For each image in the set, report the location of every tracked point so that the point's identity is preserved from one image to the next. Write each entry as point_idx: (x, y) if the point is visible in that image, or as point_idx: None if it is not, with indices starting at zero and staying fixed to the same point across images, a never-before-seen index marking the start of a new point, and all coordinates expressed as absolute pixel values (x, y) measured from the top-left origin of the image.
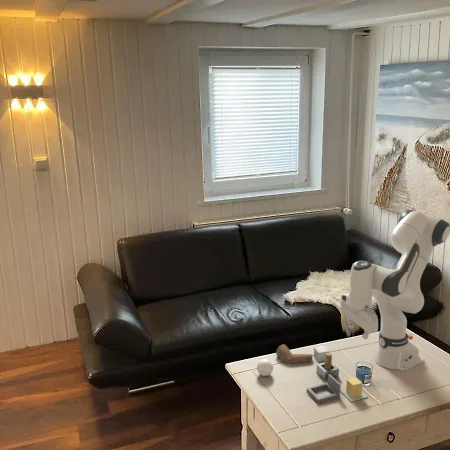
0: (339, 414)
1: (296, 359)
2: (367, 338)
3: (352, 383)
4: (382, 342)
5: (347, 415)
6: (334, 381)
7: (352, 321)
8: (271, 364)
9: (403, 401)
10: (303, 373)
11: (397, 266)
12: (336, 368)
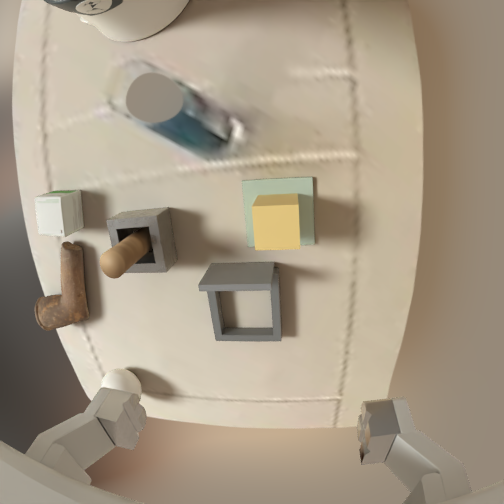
0: (349, 305)
1: (81, 298)
2: (402, 400)
3: (287, 244)
4: (97, 4)
5: (363, 288)
6: (242, 288)
7: (80, 428)
8: (121, 390)
9: (372, 76)
10: (132, 297)
11: None
12: (151, 222)
